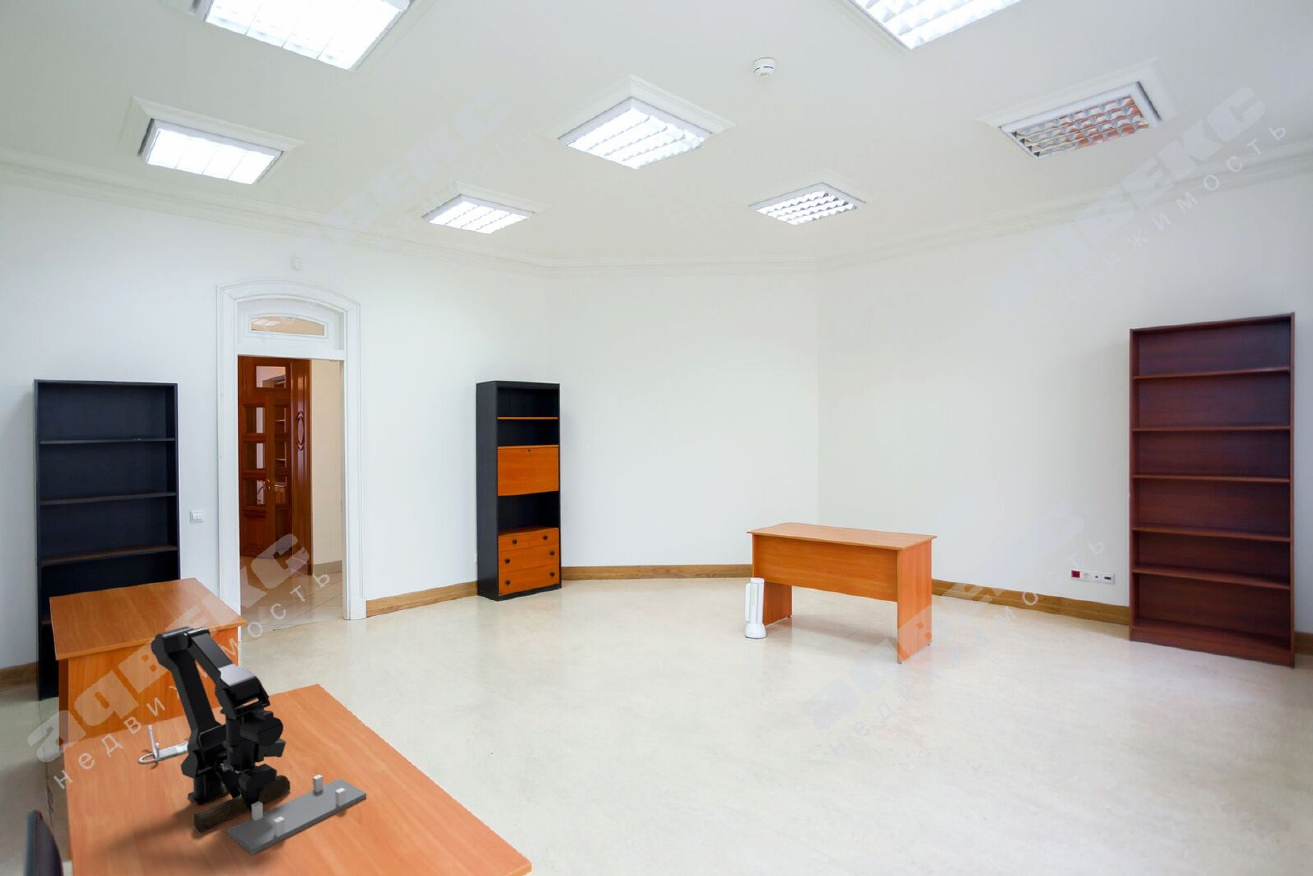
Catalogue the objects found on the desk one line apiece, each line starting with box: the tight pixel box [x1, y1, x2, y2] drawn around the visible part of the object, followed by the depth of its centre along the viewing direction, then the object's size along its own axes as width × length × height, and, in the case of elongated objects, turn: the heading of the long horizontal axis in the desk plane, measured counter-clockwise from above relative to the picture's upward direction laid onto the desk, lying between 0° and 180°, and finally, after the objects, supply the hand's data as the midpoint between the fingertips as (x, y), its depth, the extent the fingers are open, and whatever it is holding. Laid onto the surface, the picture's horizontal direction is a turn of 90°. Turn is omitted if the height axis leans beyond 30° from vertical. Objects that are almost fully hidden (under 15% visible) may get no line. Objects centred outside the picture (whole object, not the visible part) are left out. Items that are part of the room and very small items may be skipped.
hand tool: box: [193, 774, 291, 834], centre depth 150 cm, size 19×4×5 cm, turn 140°
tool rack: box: [227, 774, 367, 855], centre depth 149 cm, size 11×24×4 cm, turn 144°
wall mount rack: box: [138, 724, 188, 764], centre depth 179 cm, size 16×14×6 cm
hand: (244, 805), depth 151 cm, fingers open, 7 cm apart
